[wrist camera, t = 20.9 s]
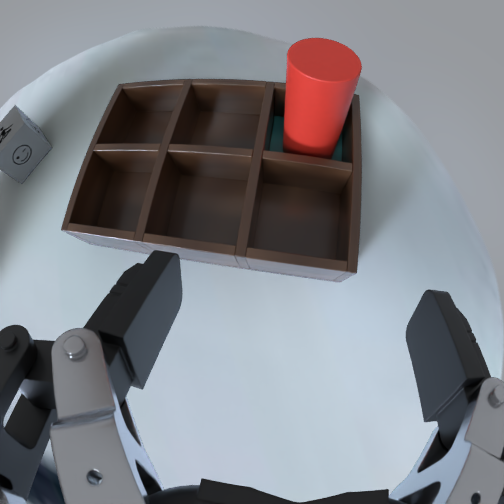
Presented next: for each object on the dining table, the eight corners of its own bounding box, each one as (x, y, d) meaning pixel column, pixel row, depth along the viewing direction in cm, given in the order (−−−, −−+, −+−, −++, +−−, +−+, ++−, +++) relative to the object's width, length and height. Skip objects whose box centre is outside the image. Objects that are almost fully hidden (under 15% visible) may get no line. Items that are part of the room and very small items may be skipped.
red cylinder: (279, 166, 21) (284, 75, 12) (285, 124, 21) (290, 33, 13) (332, 173, 20) (364, 88, 12) (333, 131, 21) (359, 44, 12)
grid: (89, 244, 21) (60, 230, 17) (135, 111, 24) (118, 83, 20) (340, 282, 19) (357, 273, 15) (348, 125, 22) (359, 94, 18)
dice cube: (21, 184, 23) (-9, 164, 18) (11, 160, 24) (-15, 141, 19) (52, 147, 24) (24, 123, 19) (39, 128, 25) (15, 104, 20)
